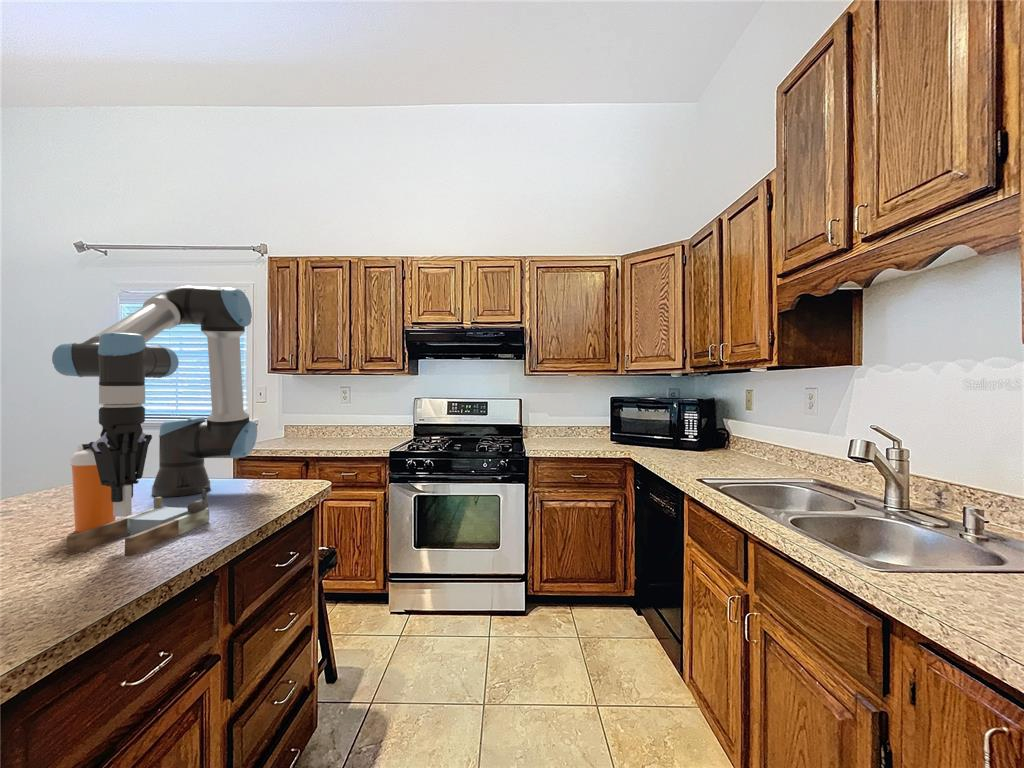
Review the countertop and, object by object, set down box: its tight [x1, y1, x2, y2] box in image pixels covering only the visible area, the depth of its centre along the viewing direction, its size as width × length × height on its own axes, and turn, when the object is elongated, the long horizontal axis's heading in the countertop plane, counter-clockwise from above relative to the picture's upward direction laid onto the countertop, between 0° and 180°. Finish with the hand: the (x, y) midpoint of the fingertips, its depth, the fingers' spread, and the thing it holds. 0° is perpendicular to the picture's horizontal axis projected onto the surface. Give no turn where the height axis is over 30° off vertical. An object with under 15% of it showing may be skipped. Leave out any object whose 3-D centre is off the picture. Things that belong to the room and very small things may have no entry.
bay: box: [66, 486, 211, 557], centre depth 104 cm, size 23×14×9 cm, turn 178°
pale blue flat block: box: [129, 506, 190, 536], centre depth 109 cm, size 10×8×4 cm
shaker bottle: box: [70, 443, 116, 533], centre depth 109 cm, size 9×9×20 cm
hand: (122, 515), depth 98 cm, fingers closed
